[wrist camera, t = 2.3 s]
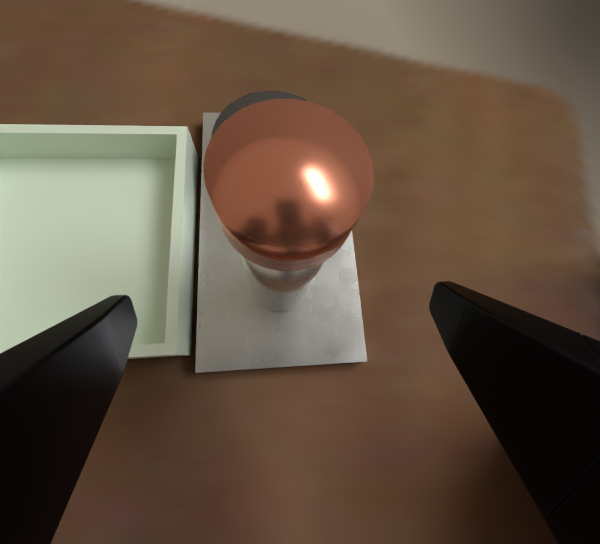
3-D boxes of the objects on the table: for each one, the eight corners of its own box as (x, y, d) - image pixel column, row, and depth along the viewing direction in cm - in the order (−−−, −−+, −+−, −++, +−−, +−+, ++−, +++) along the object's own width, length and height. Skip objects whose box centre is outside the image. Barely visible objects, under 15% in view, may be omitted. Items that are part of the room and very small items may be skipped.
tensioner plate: (362, 361, 19) (392, 362, 14) (199, 371, 18) (172, 376, 13) (335, 124, 24) (351, 65, 19) (206, 122, 23) (188, 60, 18)
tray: (191, 355, 18) (176, 354, 15) (-68, 371, 17) (-137, 373, 14) (198, 156, 22) (187, 126, 19) (-13, 156, 21) (-58, 123, 18)
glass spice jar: (315, 315, 19) (384, 244, 7) (246, 318, 18) (201, 249, 7) (310, 251, 20) (363, 100, 8) (245, 252, 19) (205, 96, 8)
